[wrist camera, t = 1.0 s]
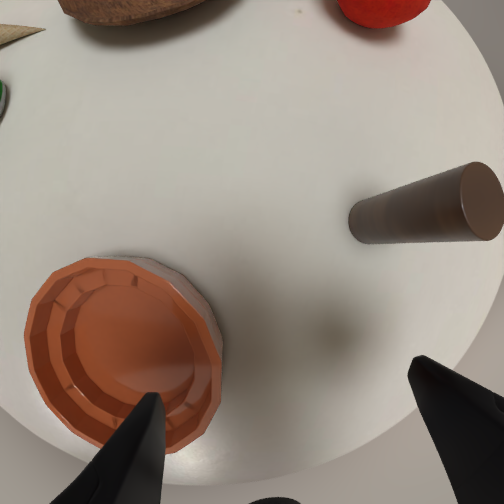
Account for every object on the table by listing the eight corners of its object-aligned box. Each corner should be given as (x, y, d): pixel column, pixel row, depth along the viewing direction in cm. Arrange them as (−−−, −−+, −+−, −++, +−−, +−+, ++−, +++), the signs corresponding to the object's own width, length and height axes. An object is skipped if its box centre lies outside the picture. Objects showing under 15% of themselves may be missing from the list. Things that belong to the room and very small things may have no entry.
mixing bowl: (248, 396, 23) (253, 433, 17) (104, 431, 22) (82, 463, 16) (183, 229, 22) (169, 224, 17) (39, 288, 21) (0, 296, 16)
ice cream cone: (58, 15, 21) (-22, 28, 17) (44, 7, 17) (-40, 25, 13) (48, 49, 23) (-30, 58, 19) (32, 44, 19) (-49, 58, 15)
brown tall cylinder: (391, 235, 23) (512, 227, 10) (356, 250, 23) (472, 252, 10) (378, 194, 23) (492, 155, 10) (342, 207, 23) (450, 169, 10)
